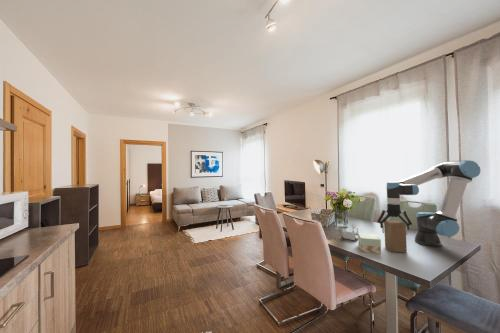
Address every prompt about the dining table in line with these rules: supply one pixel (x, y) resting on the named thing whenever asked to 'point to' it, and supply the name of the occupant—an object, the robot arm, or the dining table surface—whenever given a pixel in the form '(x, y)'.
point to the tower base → (370, 249)
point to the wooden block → (395, 236)
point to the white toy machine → (350, 234)
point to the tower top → (369, 239)
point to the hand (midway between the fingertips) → (394, 233)
